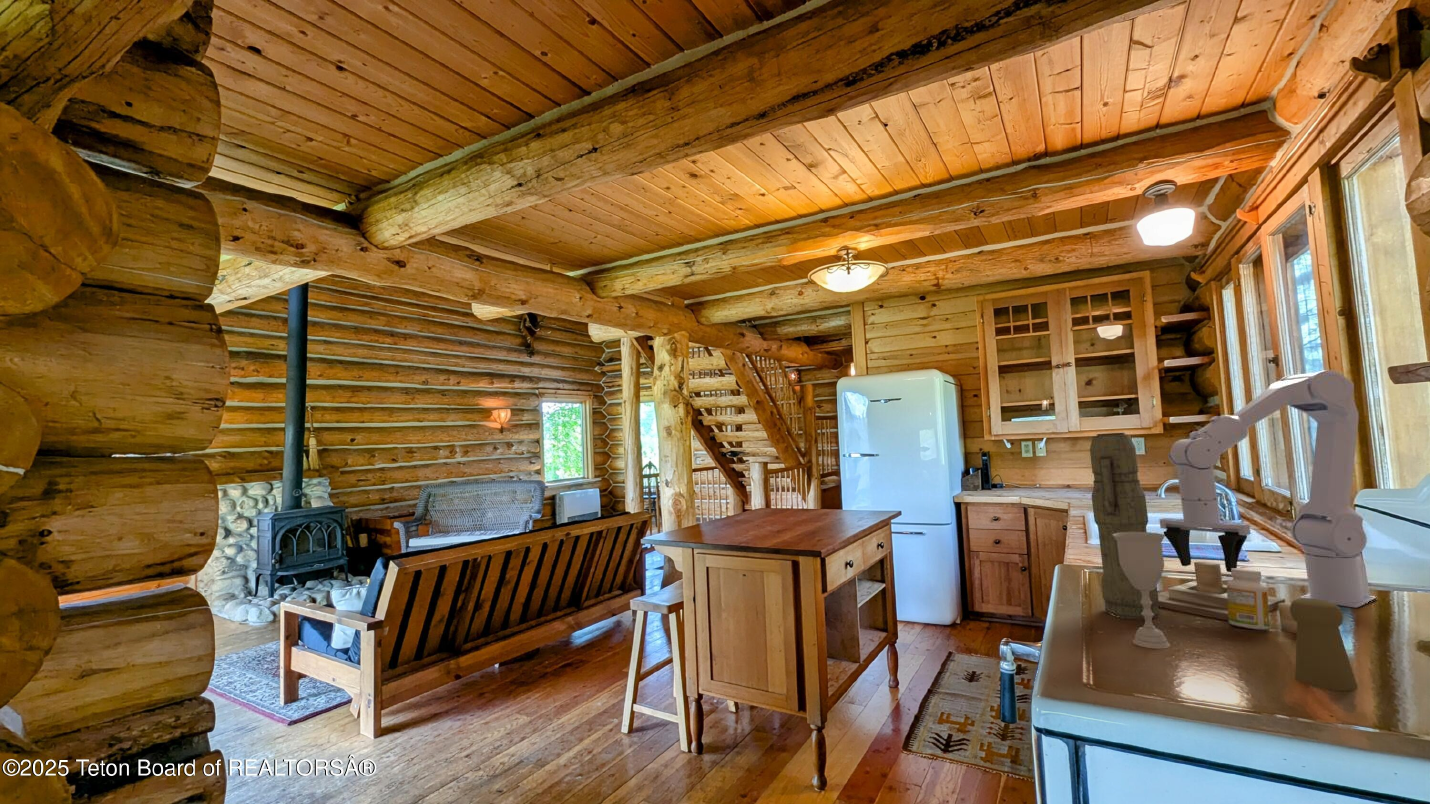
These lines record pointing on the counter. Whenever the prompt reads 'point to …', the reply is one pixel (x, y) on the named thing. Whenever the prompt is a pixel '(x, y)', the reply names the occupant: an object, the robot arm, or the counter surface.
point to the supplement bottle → (1247, 600)
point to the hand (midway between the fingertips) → (1208, 568)
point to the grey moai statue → (1118, 519)
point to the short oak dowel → (1287, 618)
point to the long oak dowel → (1209, 577)
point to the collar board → (1205, 607)
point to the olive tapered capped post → (1321, 646)
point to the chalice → (1143, 578)
